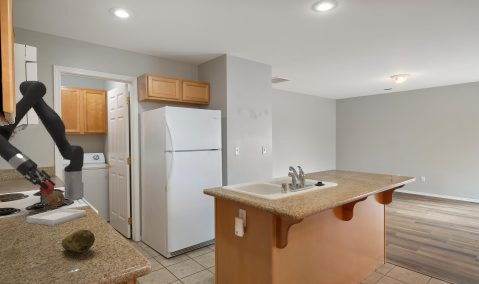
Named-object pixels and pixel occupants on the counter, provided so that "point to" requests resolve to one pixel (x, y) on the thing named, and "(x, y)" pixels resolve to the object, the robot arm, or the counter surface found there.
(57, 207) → the collar
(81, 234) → the potato
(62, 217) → the tray
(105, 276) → the counter surface
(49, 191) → the red rounded lump
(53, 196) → the tin
